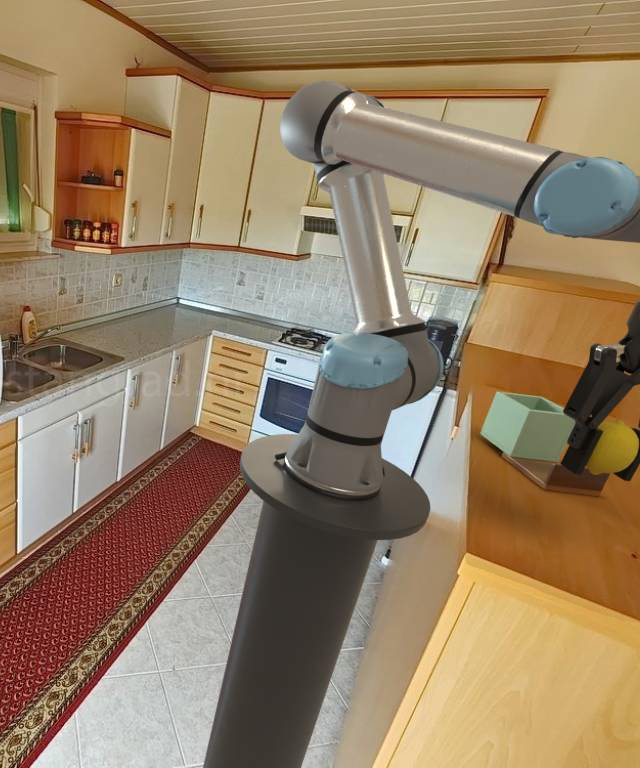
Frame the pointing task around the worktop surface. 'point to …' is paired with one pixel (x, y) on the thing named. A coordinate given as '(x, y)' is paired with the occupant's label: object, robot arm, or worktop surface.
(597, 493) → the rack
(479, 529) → the worktop surface
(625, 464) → the lemon
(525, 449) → the container
